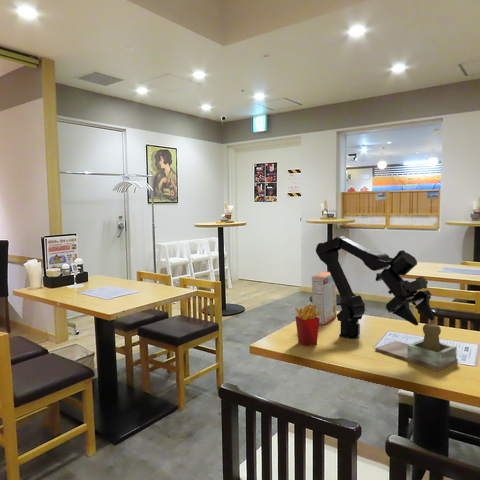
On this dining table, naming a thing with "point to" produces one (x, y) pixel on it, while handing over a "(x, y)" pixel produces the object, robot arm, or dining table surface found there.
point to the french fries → (307, 325)
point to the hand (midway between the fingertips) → (425, 322)
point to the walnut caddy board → (421, 354)
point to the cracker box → (324, 297)
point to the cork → (431, 337)
